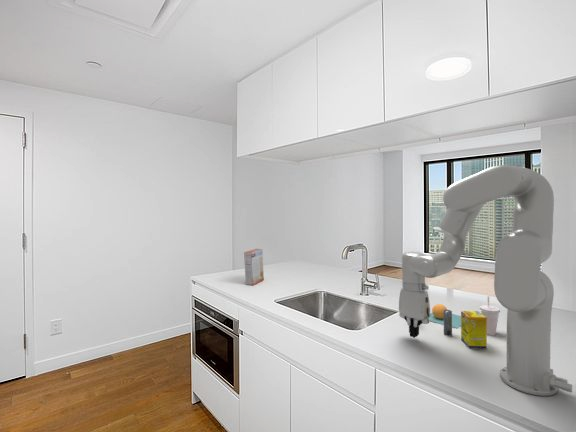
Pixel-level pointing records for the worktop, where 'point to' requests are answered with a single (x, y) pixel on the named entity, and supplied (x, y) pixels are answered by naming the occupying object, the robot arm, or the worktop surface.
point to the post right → (448, 322)
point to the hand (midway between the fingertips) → (414, 335)
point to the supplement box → (474, 329)
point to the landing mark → (455, 320)
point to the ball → (439, 311)
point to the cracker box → (254, 266)
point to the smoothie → (490, 317)
